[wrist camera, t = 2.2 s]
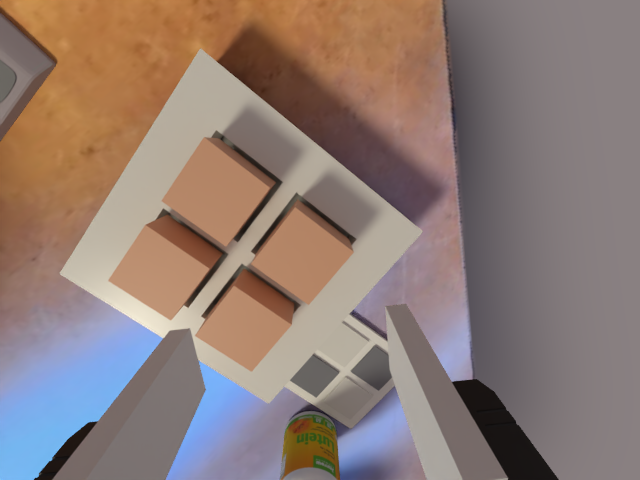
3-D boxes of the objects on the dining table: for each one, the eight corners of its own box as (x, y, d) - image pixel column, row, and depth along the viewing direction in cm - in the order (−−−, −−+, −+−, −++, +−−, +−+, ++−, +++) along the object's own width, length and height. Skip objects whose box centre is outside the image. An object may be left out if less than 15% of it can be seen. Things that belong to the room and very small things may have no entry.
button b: (209, 313, 27) (194, 335, 24) (244, 268, 26) (234, 285, 23) (258, 345, 28) (251, 371, 25) (294, 303, 27) (291, 325, 24)
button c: (181, 193, 24) (161, 200, 21) (219, 138, 23) (204, 137, 20) (237, 233, 25) (226, 246, 22) (276, 182, 24) (270, 188, 21)
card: (273, 376, 33) (272, 380, 32) (337, 303, 31) (337, 307, 30) (350, 426, 34) (351, 430, 34) (415, 360, 32) (417, 364, 32)
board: (89, 258, 29) (59, 273, 26) (216, 62, 25) (200, 48, 22) (273, 376, 33) (268, 403, 29) (409, 221, 29) (423, 231, 25)
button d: (134, 263, 26) (107, 280, 23) (167, 214, 25) (145, 224, 22) (188, 299, 27) (170, 320, 24) (222, 253, 26) (209, 269, 22)
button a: (258, 249, 26) (250, 264, 22) (297, 199, 25) (295, 207, 21) (309, 285, 27) (308, 305, 23) (348, 238, 26) (354, 252, 22)
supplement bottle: (340, 412, 34) (350, 512, 25) (331, 452, 35) (337, 562, 26) (288, 406, 34) (278, 505, 24) (281, 447, 35) (270, 556, 26)
